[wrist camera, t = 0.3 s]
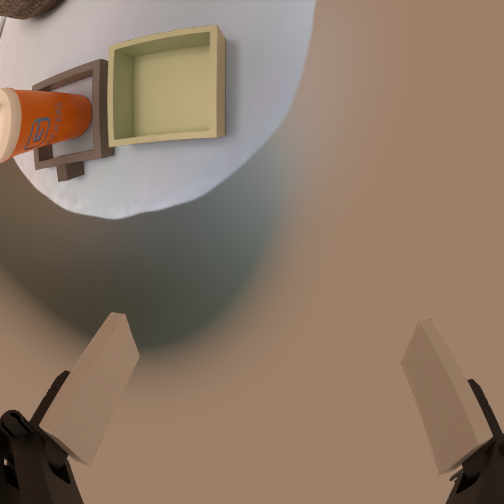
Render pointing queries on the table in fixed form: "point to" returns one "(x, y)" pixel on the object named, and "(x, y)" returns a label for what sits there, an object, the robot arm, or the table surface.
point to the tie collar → (73, 163)
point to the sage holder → (167, 87)
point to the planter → (25, 8)
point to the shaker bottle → (39, 119)
